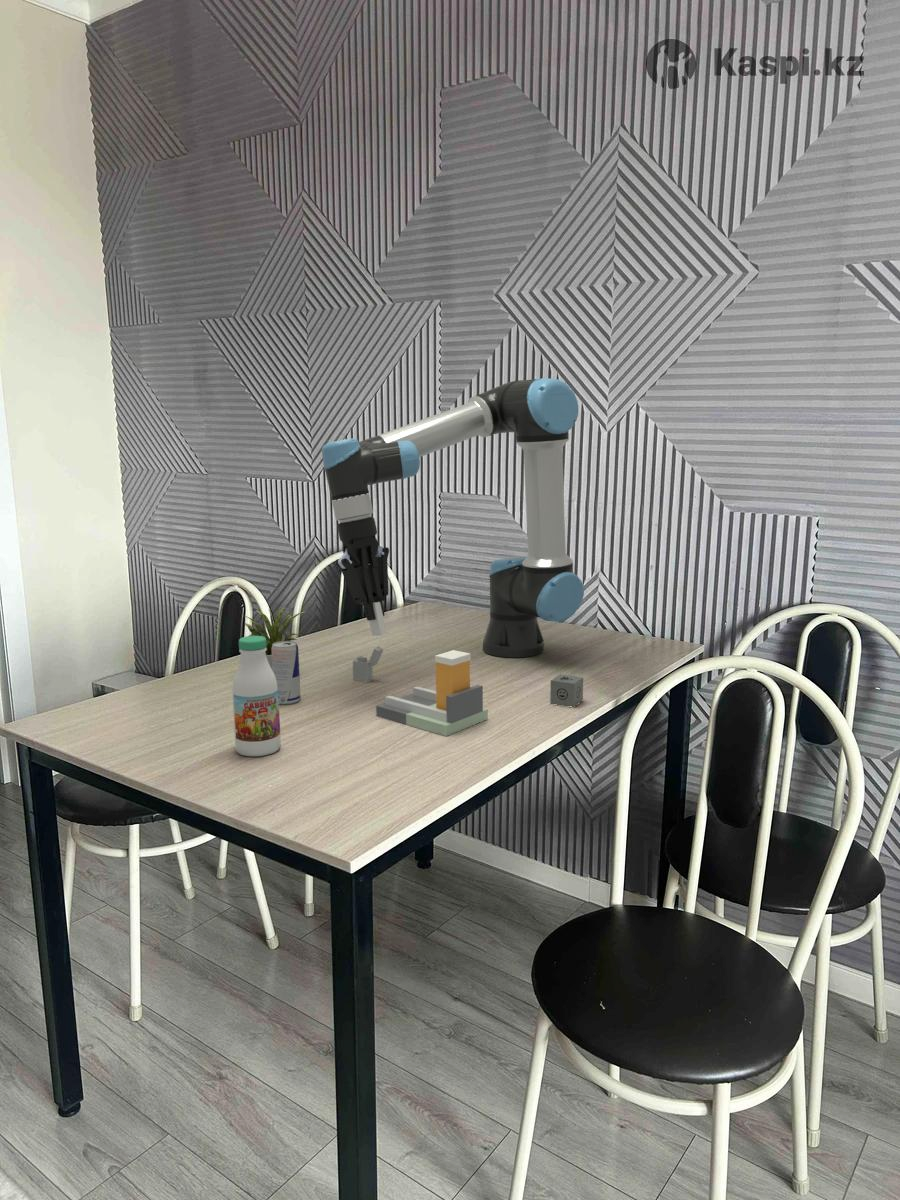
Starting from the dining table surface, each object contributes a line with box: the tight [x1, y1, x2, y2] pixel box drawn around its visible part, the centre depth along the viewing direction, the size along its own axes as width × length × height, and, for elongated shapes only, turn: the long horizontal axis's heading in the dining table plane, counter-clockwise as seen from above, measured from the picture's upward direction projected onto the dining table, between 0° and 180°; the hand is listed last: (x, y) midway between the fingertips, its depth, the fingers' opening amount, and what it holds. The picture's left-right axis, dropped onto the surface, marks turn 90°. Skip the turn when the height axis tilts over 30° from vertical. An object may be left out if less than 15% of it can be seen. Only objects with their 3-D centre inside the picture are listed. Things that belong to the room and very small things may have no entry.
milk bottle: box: [232, 635, 282, 757], centre depth 153 cm, size 8×8×20 cm
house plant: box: [244, 606, 306, 671], centre depth 197 cm, size 14×14×16 cm
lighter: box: [352, 645, 384, 683], centre depth 194 cm, size 7×2×8 cm, turn 63°
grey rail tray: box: [375, 684, 489, 737], centre depth 170 cm, size 18×12×7 cm, turn 49°
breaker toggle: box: [434, 649, 472, 711], centre depth 165 cm, size 4×5×11 cm
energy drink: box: [271, 640, 301, 705], centre depth 181 cm, size 5×5×12 cm
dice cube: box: [549, 673, 584, 708], centre depth 178 cm, size 5×5×5 cm
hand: (379, 634), depth 178 cm, fingers closed
